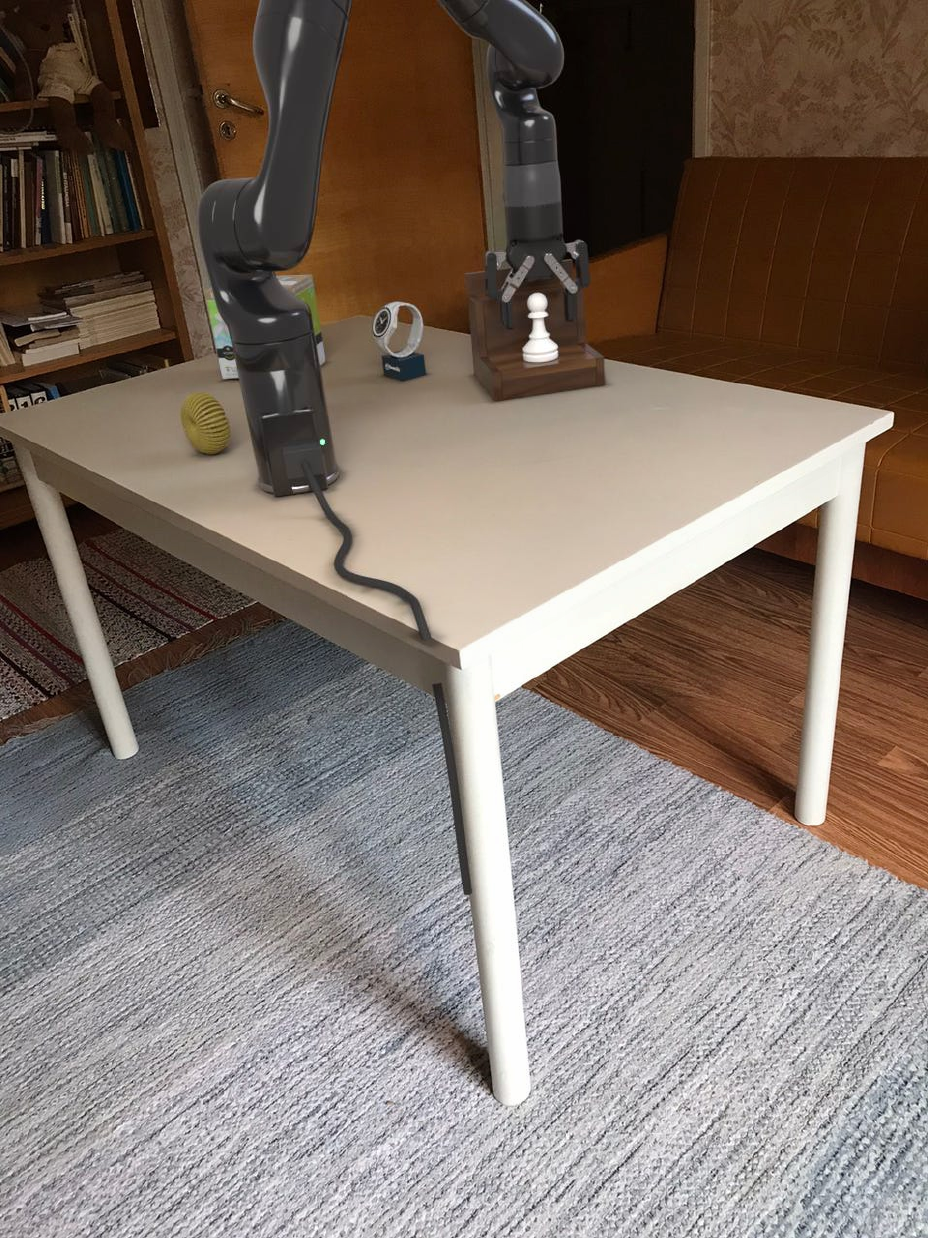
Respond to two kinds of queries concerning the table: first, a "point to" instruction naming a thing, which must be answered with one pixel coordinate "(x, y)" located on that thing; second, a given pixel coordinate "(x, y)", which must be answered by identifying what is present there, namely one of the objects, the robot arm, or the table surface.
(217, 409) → the sculpture
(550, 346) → the chess pawn
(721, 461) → the table surface
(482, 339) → the shelf
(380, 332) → the watch
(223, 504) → the table surface
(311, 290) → the tea box
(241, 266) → the robot arm
